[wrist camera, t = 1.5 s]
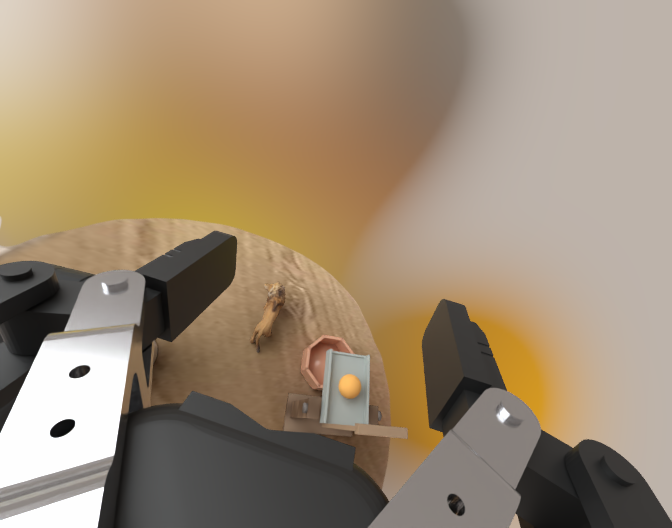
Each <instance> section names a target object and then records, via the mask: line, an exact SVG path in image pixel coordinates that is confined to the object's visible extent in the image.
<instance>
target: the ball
mask: <svg viewBox="0 0 672 528" xmlns="http://www.w3.org/2000/svg"><path fill="white" fill-rule="evenodd" d="M338 387H339V391H340V393H341V395H342V396H343V397H345V398H347V399H353V398H355V397H357V396H358V395H359V393H360V391H361V383H360V380H359V379H358V378H357V377H356V376H355V375H352V374H347V375H344V376H343V377H342V378H341V379H340V381H339V385H338Z"/></svg>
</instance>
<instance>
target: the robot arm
mask: <svg viewBox="0 0 672 528" xmlns="http://www.w3.org/2000/svg"><path fill="white" fill-rule="evenodd" d="M236 253H237V239H236V237H235V236H232V235H229V234H226V233H222V232H219V231H213V232H212V233H210V234H208V235H207V236H205V237H204V238H202V239H196V240H192V241H188V242H184V243H183V244H181V245H179V246H177V247H176V248H174V250H170V251H169V252H167V253H165V255H162V256H160V257H158V258H157V259H155V260H153V261H151V262H150V263H148V264H146V265H144V266H143V267H141V268H139V269H137V270H136V271H129V270H113V271H107V272H103V273H100V274H97V275H94V274H90V273H86V272H82V271H78V270H74V269H69V268H65V267H61V266H57V265H53V264H48V263H44V262H39V261H20V262H13V263H7V264H3V265H0V528H509V526H510V524H511V522H512V519H513V517H514V515H515V513H516V514H517V515H518V519H519V523H520V527H521V528H672V522H671V520H670V519H669V517H668V515H667V514H666V512H665V510H664V509H663V507H662V506H661V504H660V503H659V501H658V499H657V498H656V496H655V495H654V493H653V491H652V490H651V488H650V487H649V485H648V484H647V482H646V481H645V479H644V478H643V477H642V476H641V474H640V473H639V472H638V471H637V470H636V469H635V468H634V466H632V465H631V464H630V463H629V462H628V461H627V460H626V459H625V458H624V457H622V456H621V455H620V454H618V453H617V452H616V451H614V450H613V449H611V448H610V447H608V446H606V445H604V444H602V443H600V442H597V441H594V440H589V439H588V440H583V441H581V442H580V443H579V444H578V445H577V446H575V447H574V448H572V447H570V446H569V445H567V444H565V443H563V442H562V441H560V440H558V439H557V438H555V437H553V436H551V435H550V434H548V433H546V432H545V431H543V430H541V427H540V424H539V421H538V419H537V418H536V416H535V415H534V413H533V412H532V410H531V409H530V408H529V407H528V406H527V405H526V404H525V403H524V402H523V401H522V400H520V399H519V398H518V397H516V396H514V395H513V394H511V393H510V392H507V389H506V387H505V384H504V382H503V379H502V377H501V374H500V372H499V369H498V366H497V364H496V361H495V359H494V358H493V354H492V351H491V348H489V343H488V340H487V338H486V335H485V334H484V332H482V330H481V329H480V328H479V326H478V325H477V324H476V323H474V322H471V321H470V319H469V316H468V314H467V310H466V307H465V306H464V305H462V304H459V303H455V302H452V301H448V300H445V299H442V300H441V301H440V303H439V305H438V306H437V308H436V311H435V312H434V315H433V316H432V318H431V320H430V322H429V324H428V326H427V328H426V330H425V333H424V336H423V340H422V351H423V362H424V373H425V384H426V395H427V406H428V417H429V427H430V428H432V429H435V430H437V431H440V432H443V436H444V438H443V439H442V440H441V441H440V443H439V444H438V445H437V446H436V447H435V449H434V450H433V451H432V452H431V453H430V455H429V456H428V457H427V458H426V459H425V460H424V462H423V463H422V464H421V465H420V466H419V468H418V469H417V470H416V471H415V472H414V474H413V475H412V476H411V477H410V478H409V479H408V481H407V482H406V483H405V484H404V485H403V486H402V488H401V489H400V490H399V491H398V492H397V494H396V495H395V496H394V497H393V498H392V499H391V501H390V502H389V501H388V499H387V497H386V496H385V494H384V493H383V491H382V490H381V489H380V487H379V486H378V485H377V484H376V483H375V481H374V480H373V479H372V478H371V477H370V476H369V475H368V474H367V473H366V472H365V471H364V470H362V469H361V468H360V467H359V466H357V465H356V464H355V463H353V462H354V455H355V447H353V446H350V445H347V444H344V443H341V442H338V441H335V440H332V439H329V438H327V437H324V436H321V435H318V434H315V433H305V432H290V431H276V430H268V429H266V428H264V427H263V426H261V425H260V424H258V423H257V422H256V421H254V420H253V419H251V418H250V417H248V416H247V415H246V414H244V413H243V412H241V411H240V410H239V409H237V408H236V407H234V406H233V405H231V404H229V403H226V402H223V401H220V400H217V399H214V398H212V397H209V396H206V395H203V394H200V393H197V392H194V391H192V392H191V393H190V395H189V396H188V397H187V399H186V400H185V401H184V403H183V404H182V403H173V404H162V405H155V406H151V386H152V372H153V364H154V362H155V360H156V358H157V354H158V347H157V343H156V342H155V339H156V338H157V337H158V338H160V339H163V340H166V341H169V342H172V341H173V340H174V339H175V338H176V337H177V336H178V335H179V334H181V333H182V332H183V331H184V330H185V329H186V328H187V327H188V326H189V325H190V324H191V323H192V322H193V321H194V320H195V319H196V318H197V317H198V316H199V315H200V314H201V313H202V312H203V311H204V310H205V309H206V308H207V307H208V306H209V305H210V304H211V303H212V302H213V301H214V300H215V299H216V298H217V297H218V296H219V295H220V294H221V293H222V292H223V291H225V290H226V289H227V288H228V287H229V285H230V284H231V283H232V281H233V279H234V276H235V270H236Z"/></svg>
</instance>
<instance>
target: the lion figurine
mask: <svg viewBox="0 0 672 528" xmlns="http://www.w3.org/2000/svg"><path fill="white" fill-rule="evenodd" d="M284 288H285V287H284V286H283V285H282V284H281V283H279V281H278V282H276V284H268V283H267V284H265V289H267V290H268V291H269V293H268V298H267V303H266V306H265V307H264V310H265V312H264V315H263V320H262V321H261V322H260V323H258V325H257V326H256V328H255V330H254V333H253V336H252V338H251V339H250V342H251V343H254V342H255V337H256V335H257V334H258V336H257V339H256V346H257V349H256V350H257V352H259V349H260V347H259V344H258V341H259V338H260V337H261V335H265V337H269V336H271V334H272V332H271V327H272V323H273V322H274V321H275V319H276V317H277V316H278V314H279V311H280V309H281V308H282V306H283V305H284V303H285V289H284Z"/></svg>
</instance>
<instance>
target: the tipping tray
mask: <svg viewBox="0 0 672 528" xmlns="http://www.w3.org/2000/svg"><path fill="white" fill-rule="evenodd" d="M332 350H333V349H329V350H328V351H326V360H325V371H324V381H323V392H322V402H321V412H320V423H322V427H326V428H334V429H341V430H349V431H355V434H359V435H370V436H382V437H393V438H405V439H407V438H408V433H407V428H401V427H390V426H380V425H370V424H368V423H369V378H370V355H367V356H362V355H356V354H350V353H344V352H338V351H332ZM347 374H352V375H355V376H356V377H357V378H358V379H359V380H360V383H361V391H360V393H359V395H358V396H357V397H355V398H353V399H347V398H345V397H343V396H342V395H341V393H340V391H339V387H338V385H339V381H340V379H341V378H342V377H343V376H344V375H347Z"/></svg>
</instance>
